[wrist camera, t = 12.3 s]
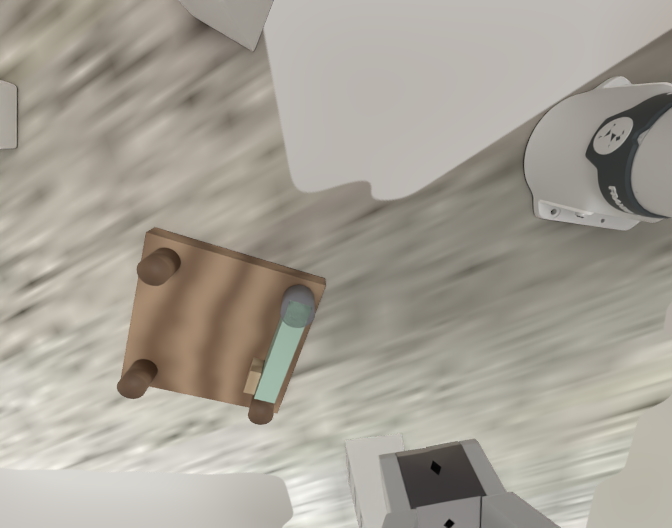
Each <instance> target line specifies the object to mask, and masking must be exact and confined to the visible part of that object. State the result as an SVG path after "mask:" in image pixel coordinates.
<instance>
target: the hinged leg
mask: <svg viewBox="0 0 672 528" xmlns="http://www.w3.org/2000/svg"><path fill="white" fill-rule="evenodd" d="M280 313H281V318H280V321H279V323H278V326H277V329H276V332H275V334H274V337H273V340H272V343H271V345H270V348H269V351H268V354H267V356H266V359H265V362H264V365H263V368H262V373H261V376H260V379H259V382H258V385H257V388H256V392H255V397H254V399H258V400H262V401H266V402H271V403H275V401H276V398H277V396H278V393H279V391H280V388H281V386H282V383H283V381H284V378H285V376H286V373H287V371H288V368H289V365H290V363H291V360H292V358H293V355H294V353H295V350H296V348H297V345H298V343H299V340H300V338H301V335H302V333H303V330H304V327H305V326H307V325H309V324H310V323H311V322H312V321H313V319H314V316H315V301H314V294H313V292H312V291H311V290H310V289H309V288H308V287H306V286H303V285H294V286H291V287H289V288H288V289H287V290H286V291H285V293H284V295H283V300H282V306H281V312H280Z"/></svg>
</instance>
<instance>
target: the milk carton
mask: <svg viewBox="0 0 672 528" xmlns="http://www.w3.org/2000/svg"><path fill="white" fill-rule="evenodd" d="M178 1H179V2H180V3H181V4H182V5H183V6H184V7H185V8H186V9H187V10H188V11H189V12H190V14H191V15H192V16H194V17H195V18H197V19H199V20H200V21H202V22H204V23H205V24H207V25H209V26H211V27H212V28H214V29H216V30H217V31H219V32H221V33H222V34H224V35H226V36H227V37H229V38H231V39H232V40H234V41H236V42H238V43H239V44H241V45H243V46H244V47H246V48H248V49H249V50H251V51H254V50H255V48H256V45H257V43H258V40H259V37H260V35H261V32H262V29H263V27H264V24H265V22H266V19H267V16H268V13H269V11H270V9H271V6H272V3H273V1H274V0H178Z"/></svg>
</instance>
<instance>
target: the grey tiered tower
mask: <svg viewBox="0 0 672 528" xmlns="http://www.w3.org/2000/svg"><path fill="white" fill-rule="evenodd" d="M345 448H346V460H347V473H348V482H349V486H350V490H351V495H352V499H353V503H354V508H355V512H356V516H357V521H358V525H359V528H382V525H383V522H384V519H385V516H386V514H387V509H386V505H385V500H384V494H383V488H382V482H381V474H380V466H379V458H378V456H379V455H382V454H388V453H394V452H401V451H404V446H403V440H402V434H401V433H399V434H391V435H382V436H374V437H365V438H356V439H348V440H345ZM348 461H349V464H348ZM349 465H350V466H349ZM349 470H350V477H349Z"/></svg>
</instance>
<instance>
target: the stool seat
mask: <svg viewBox="0 0 672 528" xmlns="http://www.w3.org/2000/svg"><path fill="white" fill-rule="evenodd" d="M137 274H138V282H137V288H136V294H135V299H134V305H133V311H132V317H131V323H130V328H129V334H128V340H127V346H126V352H125V358H124V363H123V369H122V375H121V380H120V381H119V382H118V384H117V390H118V391H119V393H120V394H121V395H122V396H124V397H126V398H130V399H136V398H139V397H141V396H142V395H143V394H144V393H145V391H146V390H147V388H148V387H149V386H150V387H155V388H160V389H164V390H169V391H174V392H178V393H183V394H188V395H193V396H197V397H202V398H207V399H212V400H216V401H221V402H226V403H230V404H235V405H240V406H245V407H249V413H248V417H249V419H250V421H251V422H253V423H255V424H259V425H263V424H267V423H269V422H270V421H271V420H272V418H273V413H278V410H279V407H280V405H281V402H282V400H283V397H284V394H285V392H286V389H287V386H288V384H289V381H290V378H291V376H292V373H293V371H294V368H295V365H296V363H297V360H298V357H299V355H300V352H301V350H302V347H303V344H304V342H305V339H306V336H307V334H308V331H309V329H310V326H311V323H312V322H311V323H310V324H309V325H307V326H305V327H304V330H303V333H302V335H301V338H300V340H299V343H298V345H297V348H296V350H295V353H294V355H293V358H292V360H291V363H290V365H289V368H288V371H287V373H286V376H285V378H284V381H283V383H282V386H281V388H280V391H279V393H278V396H277V398H276V401H275V403H271V402H266V401H262V400H258V399H254V397H255V392H256V388H257V385H258V382H259V379H260V376H261V373H262V368H263V365H264V362H265V359H266V356H267V354H268V351H269V348H270V345H271V343H272V340H273V337H274V334H275V332H276V329H277V326H278V323H279V321H280V318H281V313H280V312H281V306H282V300H283V295H284V293H285V291H286V290H287V289H288V288H289V287H291V286H294V285H303V286H306V287H308V288H309V289H310V290H311V291H312V292H313V294H314V301H315V313H316V310H317V308H318V305H319V302H320V300H321V297H322V294H323V292H324V289H325V287H326V283H325V278H322V277H318V276H315V275H312V274H308V273H305V272H302V271H298V270H295V269H292V268H288V267H285V266H282V265H278V264H275V263H272V262H268V261H265V260H262V259H258V258H255V257H252V256H248V255H245V254H242V253H238V252H235V251H232V250H228V249H225V248H222V247H218V246H215V245H212V244H208V243H205V242H202V241H198V240H195V239H192V238H188V237H185V236H182V235H179V234H175V233H172V232H169V231H165V230H162V229H159V228H153V229H151V230H149V231H148V232H146V235H145V241H144V247H143V253H142V259H141V262H140V263H139V264H138V266H137Z"/></svg>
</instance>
